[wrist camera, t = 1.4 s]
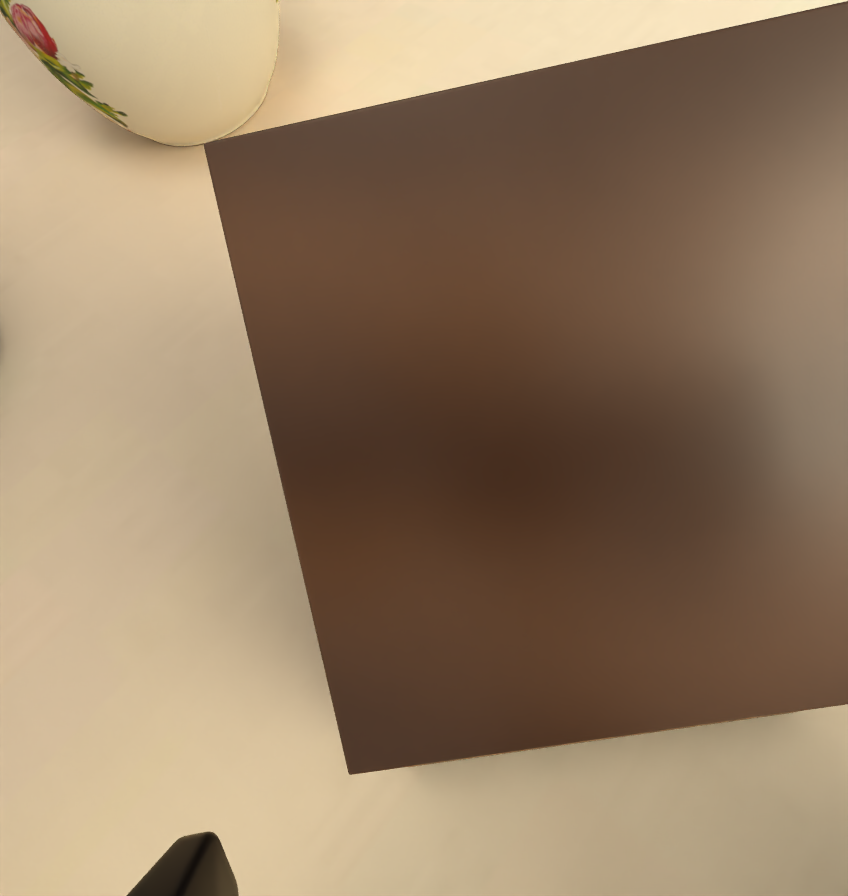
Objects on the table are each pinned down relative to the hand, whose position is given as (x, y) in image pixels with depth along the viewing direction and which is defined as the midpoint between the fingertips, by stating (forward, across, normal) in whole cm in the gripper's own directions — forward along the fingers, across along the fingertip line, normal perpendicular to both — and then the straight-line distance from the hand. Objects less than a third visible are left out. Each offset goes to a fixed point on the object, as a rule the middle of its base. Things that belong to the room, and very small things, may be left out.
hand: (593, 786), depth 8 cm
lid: (+7, -1, -2) cm, 7 cm away
